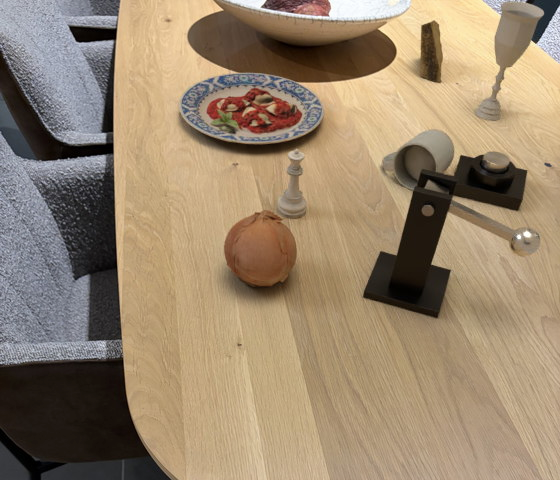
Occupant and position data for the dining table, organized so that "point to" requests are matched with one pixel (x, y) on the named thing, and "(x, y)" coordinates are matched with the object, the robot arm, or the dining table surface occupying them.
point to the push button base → (490, 183)
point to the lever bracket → (416, 253)
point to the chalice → (509, 47)
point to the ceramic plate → (251, 108)
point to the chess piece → (293, 189)
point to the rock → (431, 51)
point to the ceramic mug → (420, 157)
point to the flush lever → (494, 225)
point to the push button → (495, 162)
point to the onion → (260, 249)
